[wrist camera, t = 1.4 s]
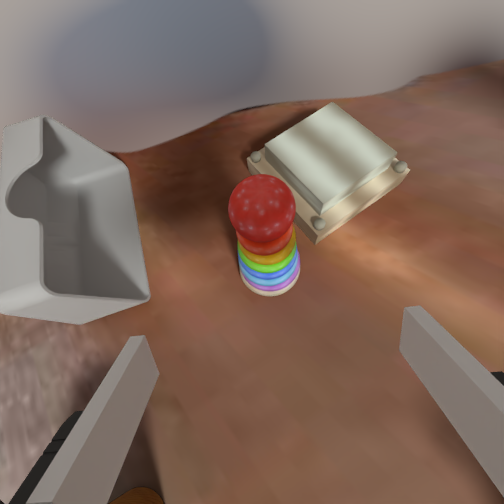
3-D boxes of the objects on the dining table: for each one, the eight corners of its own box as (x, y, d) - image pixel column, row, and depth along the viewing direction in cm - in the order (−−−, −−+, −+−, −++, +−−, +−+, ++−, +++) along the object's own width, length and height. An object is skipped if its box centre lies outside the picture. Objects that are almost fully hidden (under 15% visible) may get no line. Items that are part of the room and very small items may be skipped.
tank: (38, 195, 43) (-50, 138, 32) (128, 165, 44) (74, 98, 32) (37, 342, 34) (-87, 338, 22) (152, 303, 34) (88, 278, 23)
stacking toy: (232, 254, 36) (189, 161, 18) (285, 233, 36) (291, 124, 19) (252, 306, 33) (223, 256, 15) (309, 284, 33) (343, 209, 16)
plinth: (326, 122, 43) (333, 87, 37) (400, 183, 37) (421, 154, 32) (248, 171, 41) (244, 143, 35) (314, 244, 35) (321, 224, 29)
